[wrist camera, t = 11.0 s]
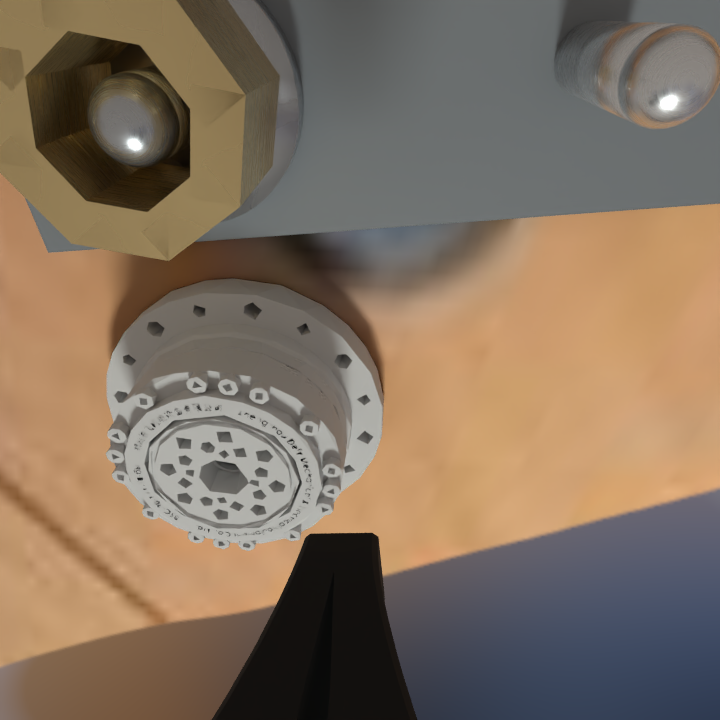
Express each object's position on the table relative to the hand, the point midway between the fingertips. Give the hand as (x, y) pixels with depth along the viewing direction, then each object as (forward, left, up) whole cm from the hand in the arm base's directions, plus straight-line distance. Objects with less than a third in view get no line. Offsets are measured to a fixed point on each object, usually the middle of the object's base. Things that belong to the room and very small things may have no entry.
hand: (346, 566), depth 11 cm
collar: (+4, -8, -7) cm, 11 cm away
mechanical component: (+5, +3, -10) cm, 11 cm away
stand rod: (-6, -8, -8) cm, 13 cm away
